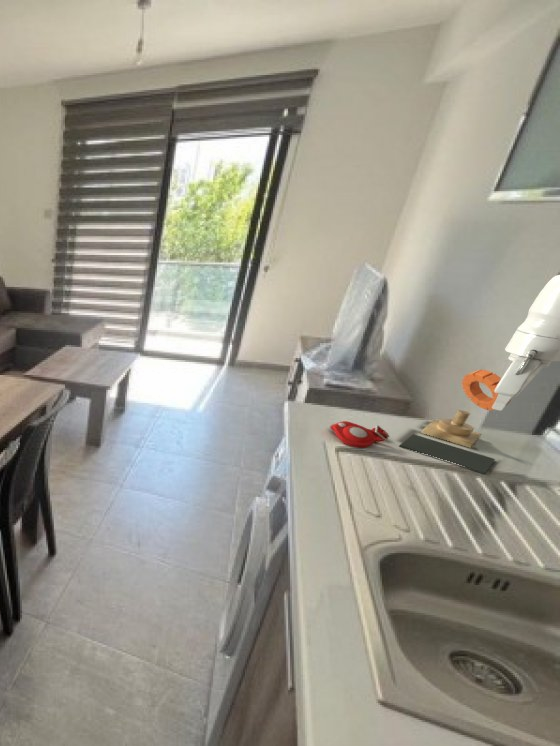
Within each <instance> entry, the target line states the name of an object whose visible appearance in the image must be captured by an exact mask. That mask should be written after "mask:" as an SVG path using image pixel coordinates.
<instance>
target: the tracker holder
mask: <svg viewBox="0 0 560 746" xmlns="http://www.w3.org/2000/svg"><path fill="white" fill-rule="evenodd" d="M330 429H331V430H332V431H333V432H334V434H335V435H336V437H337V439H338V440H340V441H341V442H342V443H343V444H344V445H347V446H350V447H353V448H357V449H362V448H363V449H364V448H365V449H366V448H368V447H370V446H372V445H373V444H374V443H375V442H376V443H378V442H379V443H380V442H388V441H389V438H390V437H391V436H390V434H389V433H388V432H387V431H386V429H385V430H384V429H383V428H382V427H381V426H380V425H378V424H376V425H375V427H373V428H372V429H370V428H367V427H365V426H363V425H359V424H357V423H354V422H351V421H346V420H343V421H339V422H336V423H334V424H331V425H330Z"/></svg>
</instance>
